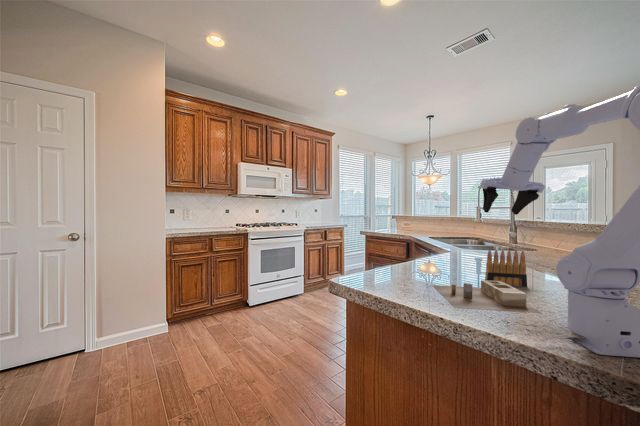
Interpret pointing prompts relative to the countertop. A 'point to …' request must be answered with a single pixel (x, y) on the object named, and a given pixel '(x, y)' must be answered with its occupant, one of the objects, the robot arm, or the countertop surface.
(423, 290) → the countertop surface
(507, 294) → the beige rectangular block
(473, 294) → the post board
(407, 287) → the countertop surface
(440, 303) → the countertop surface
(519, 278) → the ammunition clip
